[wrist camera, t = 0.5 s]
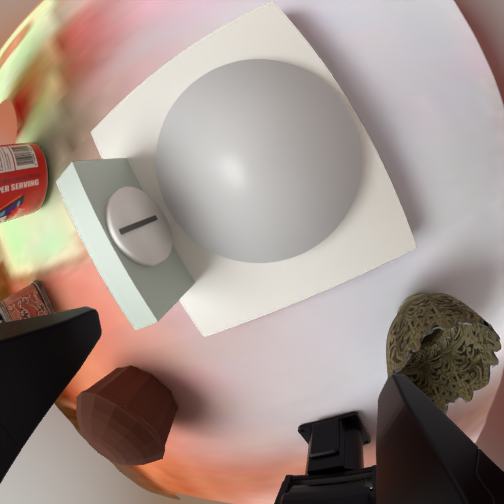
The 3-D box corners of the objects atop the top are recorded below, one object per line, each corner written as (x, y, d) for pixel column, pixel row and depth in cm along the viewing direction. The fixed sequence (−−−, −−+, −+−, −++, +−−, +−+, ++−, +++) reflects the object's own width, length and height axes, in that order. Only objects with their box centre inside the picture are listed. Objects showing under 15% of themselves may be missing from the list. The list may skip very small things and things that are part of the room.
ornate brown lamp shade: (440, 248, 16) (497, 297, 9) (462, 321, 17) (502, 381, 10) (355, 298, 19) (372, 371, 12) (388, 363, 20) (405, 436, 13)
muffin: (130, 341, 26) (71, 402, 16) (206, 409, 26) (171, 480, 17) (96, 376, 30) (53, 421, 21) (157, 429, 31) (125, 480, 21)
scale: (405, 237, 17) (452, 281, 10) (214, 320, 22) (174, 382, 15) (277, 16, 14) (255, -46, 7) (109, 133, 19) (38, 132, 12)
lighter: (31, 281, 28) (-23, 311, 18) (41, 278, 27) (-17, 312, 17) (53, 334, 30) (7, 370, 20) (65, 335, 29) (16, 375, 20)
